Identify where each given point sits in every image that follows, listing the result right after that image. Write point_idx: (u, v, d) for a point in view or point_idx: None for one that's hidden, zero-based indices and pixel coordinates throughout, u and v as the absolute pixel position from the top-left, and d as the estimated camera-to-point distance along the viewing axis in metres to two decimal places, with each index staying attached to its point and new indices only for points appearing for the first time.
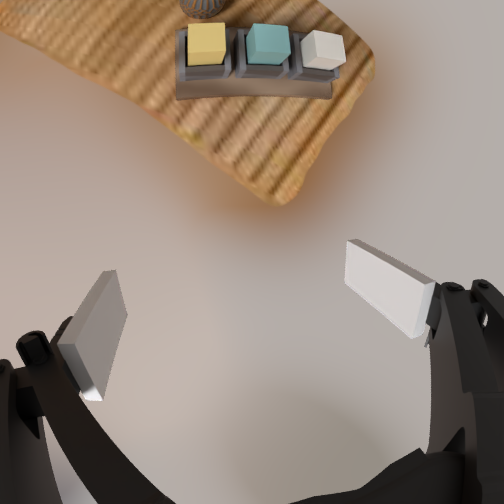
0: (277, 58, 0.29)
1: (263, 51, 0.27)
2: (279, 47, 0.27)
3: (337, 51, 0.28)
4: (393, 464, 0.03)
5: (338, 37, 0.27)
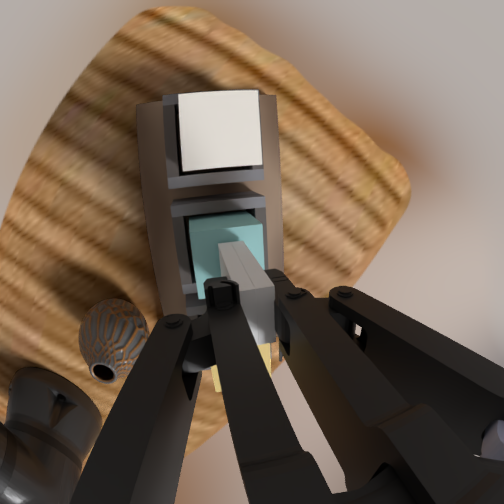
0: None
1: None
2: (251, 247, 0.17)
3: (233, 110, 0.14)
4: (393, 464, 0.03)
5: (187, 105, 0.13)
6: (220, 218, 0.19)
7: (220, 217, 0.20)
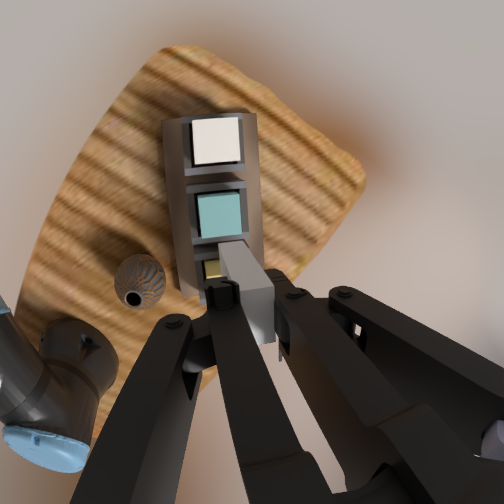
0: None
1: (240, 225, 0.30)
2: (232, 207, 0.30)
3: (223, 129, 0.25)
4: (393, 464, 0.03)
5: (197, 126, 0.24)
6: (216, 193, 0.32)
7: (216, 192, 0.32)
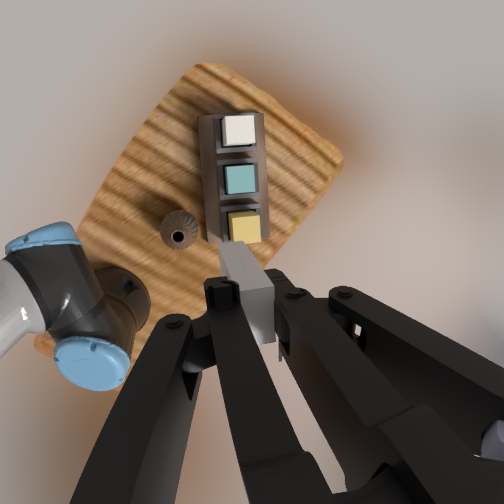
0: None
1: (254, 185, 0.45)
2: (249, 173, 0.44)
3: (245, 122, 0.39)
4: (393, 464, 0.03)
5: (228, 120, 0.38)
6: None
7: None
